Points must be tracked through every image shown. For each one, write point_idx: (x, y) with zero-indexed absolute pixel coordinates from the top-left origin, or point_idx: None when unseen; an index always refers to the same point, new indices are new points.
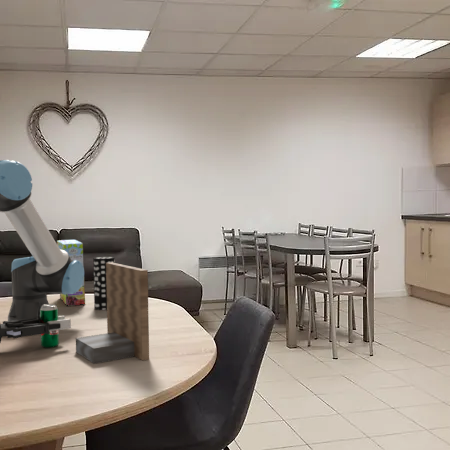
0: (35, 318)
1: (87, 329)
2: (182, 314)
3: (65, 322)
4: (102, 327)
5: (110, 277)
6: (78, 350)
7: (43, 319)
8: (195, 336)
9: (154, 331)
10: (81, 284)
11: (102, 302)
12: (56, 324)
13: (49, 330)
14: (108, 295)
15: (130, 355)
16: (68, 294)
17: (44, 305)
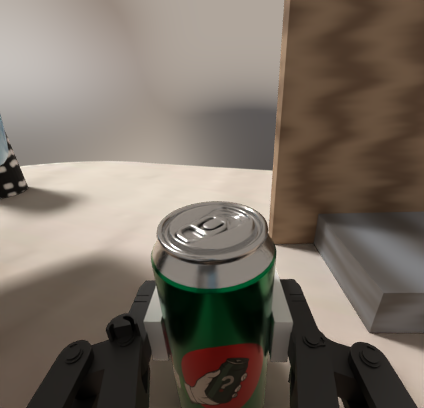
0: (85, 358)
1: (112, 241)
2: (162, 164)
3: None
4: (128, 221)
5: (326, 45)
6: (402, 324)
7: (253, 333)
8: None
9: (230, 190)
10: (5, 135)
11: (3, 183)
12: (304, 298)
13: (285, 354)
14: (296, 117)
15: None
16: None
17: (174, 237)
